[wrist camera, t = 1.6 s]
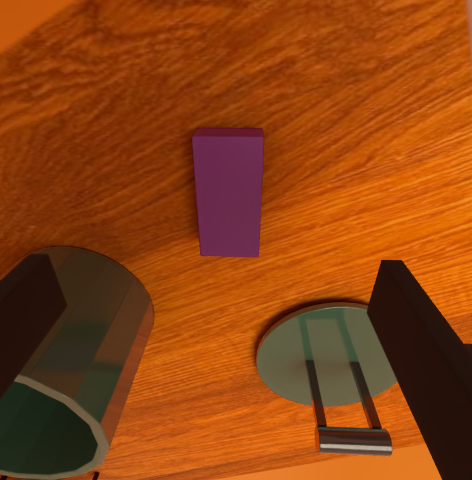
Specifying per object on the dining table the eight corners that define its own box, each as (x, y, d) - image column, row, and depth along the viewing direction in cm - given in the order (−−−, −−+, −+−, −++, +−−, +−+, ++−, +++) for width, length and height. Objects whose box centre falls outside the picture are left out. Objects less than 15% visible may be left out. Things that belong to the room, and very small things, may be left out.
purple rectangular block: (197, 127, 19) (191, 136, 17) (262, 128, 19) (264, 136, 17) (204, 239, 23) (200, 256, 21) (258, 240, 23) (258, 257, 21)
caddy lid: (258, 294, 26) (261, 391, 18) (426, 298, 25) (498, 399, 18) (253, 393, 33) (254, 491, 25) (385, 398, 32) (424, 499, 25)
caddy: (-16, 244, 24) (-173, 358, 15) (142, 247, 24) (76, 367, 15) (37, 351, 31) (-51, 475, 22) (162, 355, 30) (125, 483, 21)
